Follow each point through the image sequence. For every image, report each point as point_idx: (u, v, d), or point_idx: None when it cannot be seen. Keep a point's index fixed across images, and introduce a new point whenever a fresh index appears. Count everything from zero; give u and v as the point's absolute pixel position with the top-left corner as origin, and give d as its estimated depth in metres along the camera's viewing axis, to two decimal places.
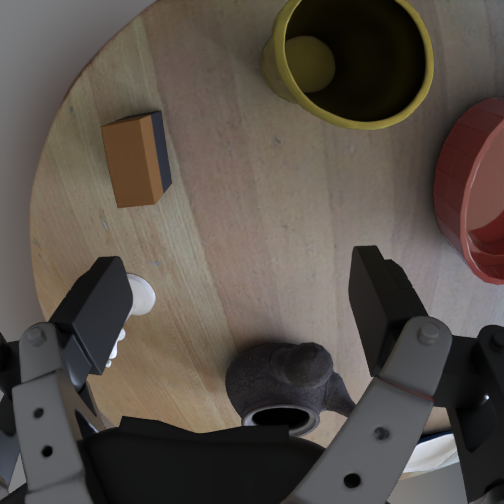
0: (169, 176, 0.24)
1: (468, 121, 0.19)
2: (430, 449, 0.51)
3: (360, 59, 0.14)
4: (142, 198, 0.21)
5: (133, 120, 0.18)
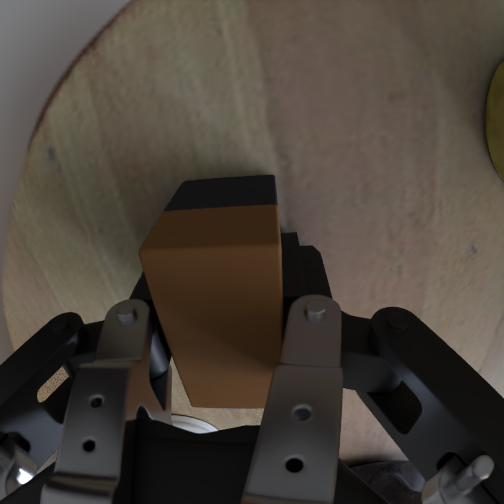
0: None
1: None
2: None
3: None
4: (255, 400, 0.09)
5: (253, 244, 0.06)
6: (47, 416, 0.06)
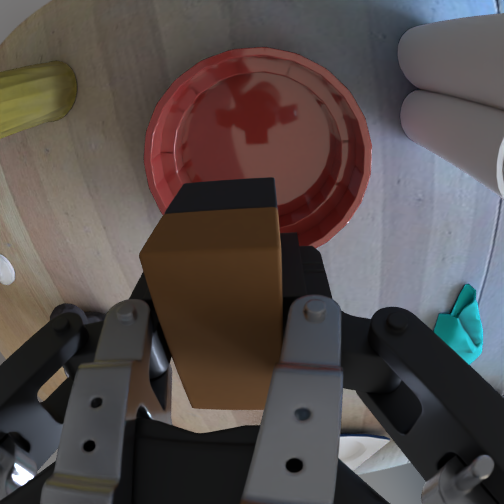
0: None
1: None
2: None
3: None
4: (255, 402, 0.09)
5: (253, 248, 0.06)
6: (47, 416, 0.06)
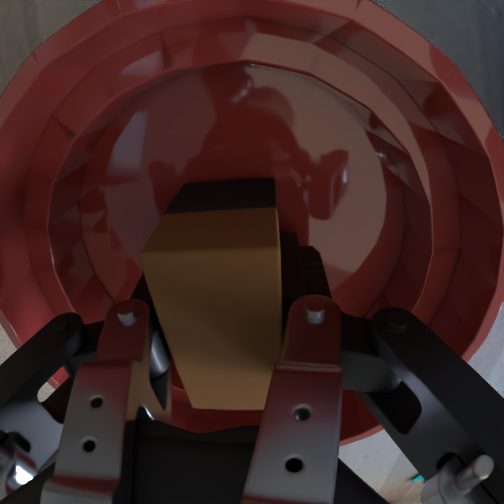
0: None
1: None
2: None
3: None
4: (254, 402, 0.09)
5: (252, 248, 0.06)
6: (47, 416, 0.06)
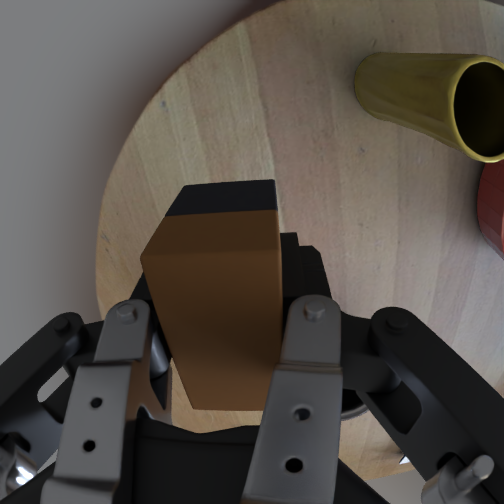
0: None
1: None
2: None
3: None
4: (255, 403, 0.09)
5: (253, 250, 0.07)
6: (47, 416, 0.06)
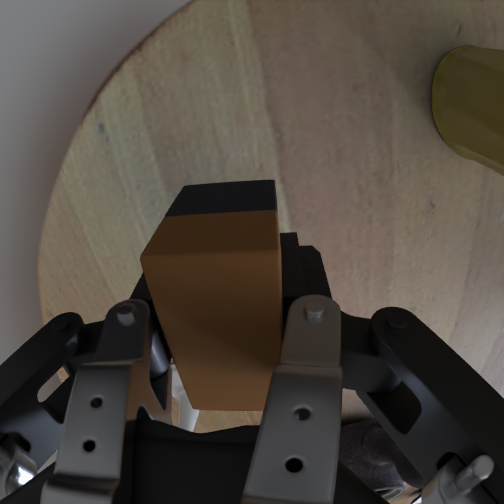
0: None
1: None
2: None
3: None
4: (255, 403, 0.09)
5: (253, 251, 0.07)
6: (47, 416, 0.06)
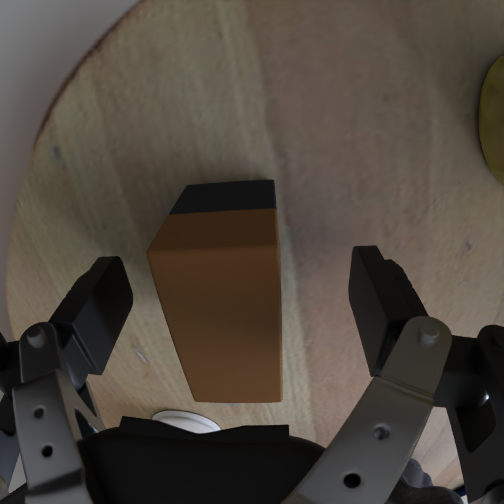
0: None
1: None
2: None
3: None
4: (255, 395, 0.10)
5: (254, 246, 0.07)
6: None
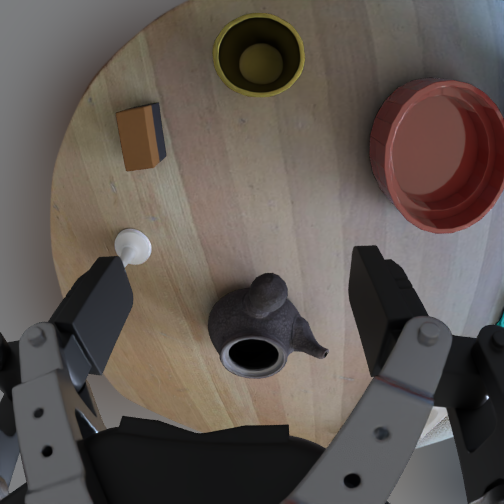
0: (164, 150, 0.32)
1: (393, 98, 0.26)
2: None
3: (288, 58, 0.21)
4: (144, 163, 0.29)
5: (139, 108, 0.26)
6: None
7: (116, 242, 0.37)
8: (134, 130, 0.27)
